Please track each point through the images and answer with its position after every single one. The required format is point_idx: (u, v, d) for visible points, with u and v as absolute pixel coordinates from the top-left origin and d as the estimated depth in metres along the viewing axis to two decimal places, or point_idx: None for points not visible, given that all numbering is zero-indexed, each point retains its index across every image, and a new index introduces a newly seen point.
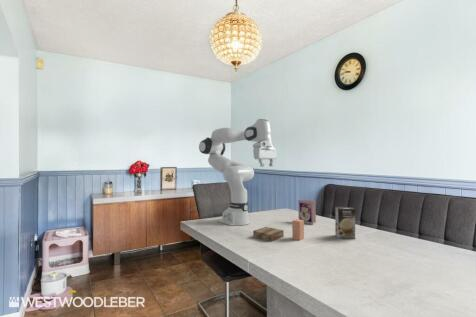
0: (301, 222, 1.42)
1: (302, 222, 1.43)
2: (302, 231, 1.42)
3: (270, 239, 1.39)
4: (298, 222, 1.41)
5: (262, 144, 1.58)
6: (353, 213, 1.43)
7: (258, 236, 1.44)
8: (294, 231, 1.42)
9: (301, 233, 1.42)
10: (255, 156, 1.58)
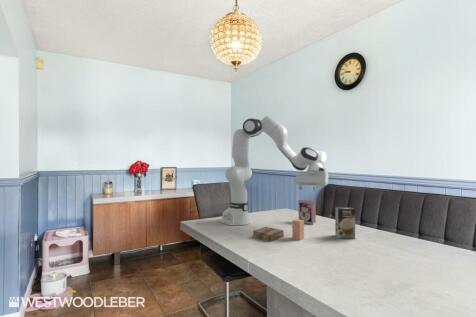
0: (301, 222, 1.42)
1: (302, 222, 1.43)
2: (302, 231, 1.42)
3: (270, 239, 1.39)
4: (298, 222, 1.41)
5: None
6: (353, 213, 1.43)
7: (258, 236, 1.44)
8: (294, 231, 1.42)
9: (301, 233, 1.42)
10: (326, 181, 1.52)
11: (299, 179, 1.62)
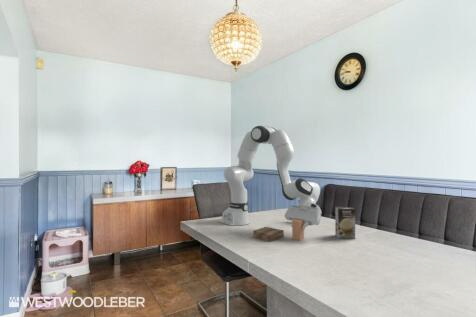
0: (301, 222, 1.42)
1: (302, 221, 1.43)
2: (302, 231, 1.42)
3: (270, 239, 1.39)
4: (298, 222, 1.41)
5: None
6: (353, 213, 1.43)
7: (258, 236, 1.44)
8: (294, 231, 1.42)
9: (301, 233, 1.42)
10: (318, 220, 1.39)
11: (289, 215, 1.50)
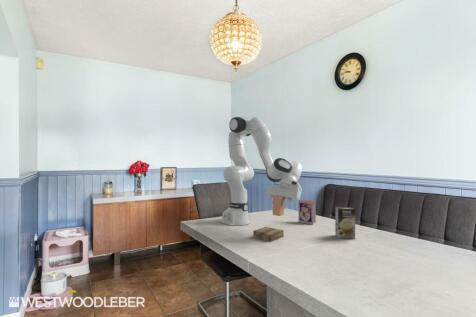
0: (281, 198, 1.44)
1: (283, 198, 1.46)
2: (282, 207, 1.45)
3: (270, 239, 1.39)
4: (278, 198, 1.44)
5: None
6: (353, 213, 1.43)
7: (258, 236, 1.44)
8: (274, 207, 1.45)
9: (281, 209, 1.44)
10: (297, 197, 1.42)
11: (271, 192, 1.52)
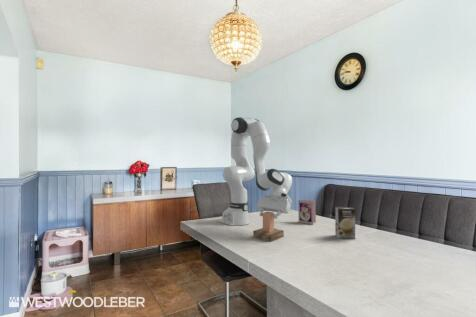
0: (271, 214, 1.45)
1: (272, 214, 1.46)
2: (272, 223, 1.46)
3: (270, 239, 1.39)
4: (268, 214, 1.44)
5: None
6: (353, 213, 1.43)
7: (258, 237, 1.44)
8: (264, 223, 1.46)
9: (271, 225, 1.45)
10: (287, 209, 1.43)
11: (261, 204, 1.53)
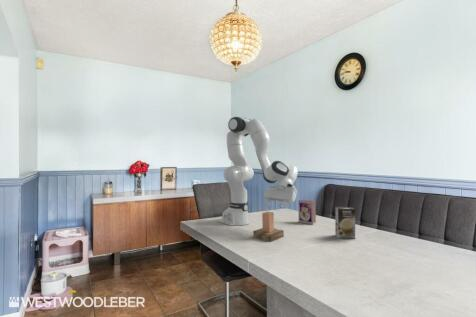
0: (270, 214, 1.45)
1: (272, 214, 1.46)
2: (272, 223, 1.46)
3: (270, 239, 1.39)
4: (267, 214, 1.44)
5: None
6: (353, 213, 1.43)
7: (258, 237, 1.44)
8: (264, 223, 1.46)
9: (271, 225, 1.45)
10: (293, 199, 1.48)
11: (267, 194, 1.58)
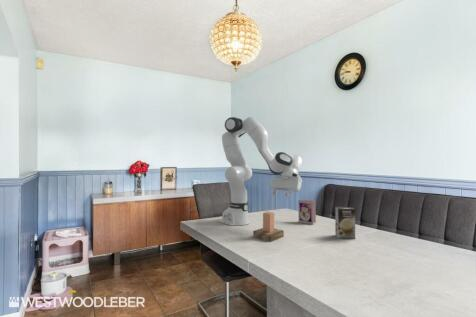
0: (271, 214, 1.45)
1: (273, 214, 1.46)
2: (272, 223, 1.46)
3: (270, 239, 1.39)
4: (268, 214, 1.44)
5: None
6: (353, 213, 1.43)
7: (258, 237, 1.44)
8: (265, 223, 1.46)
9: (271, 225, 1.45)
10: (298, 188, 1.53)
11: (273, 184, 1.63)
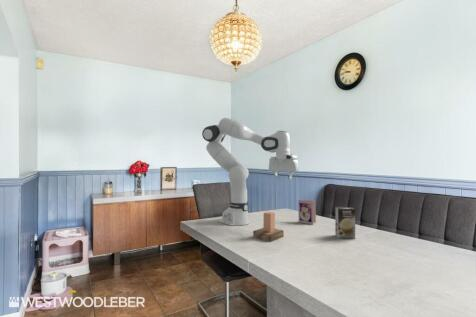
0: (272, 214, 1.45)
1: (273, 214, 1.46)
2: (273, 223, 1.46)
3: (270, 239, 1.39)
4: (269, 214, 1.44)
5: None
6: (353, 213, 1.43)
7: (258, 237, 1.44)
8: (265, 223, 1.45)
9: (272, 225, 1.45)
10: (297, 168, 1.59)
11: (273, 169, 1.69)
